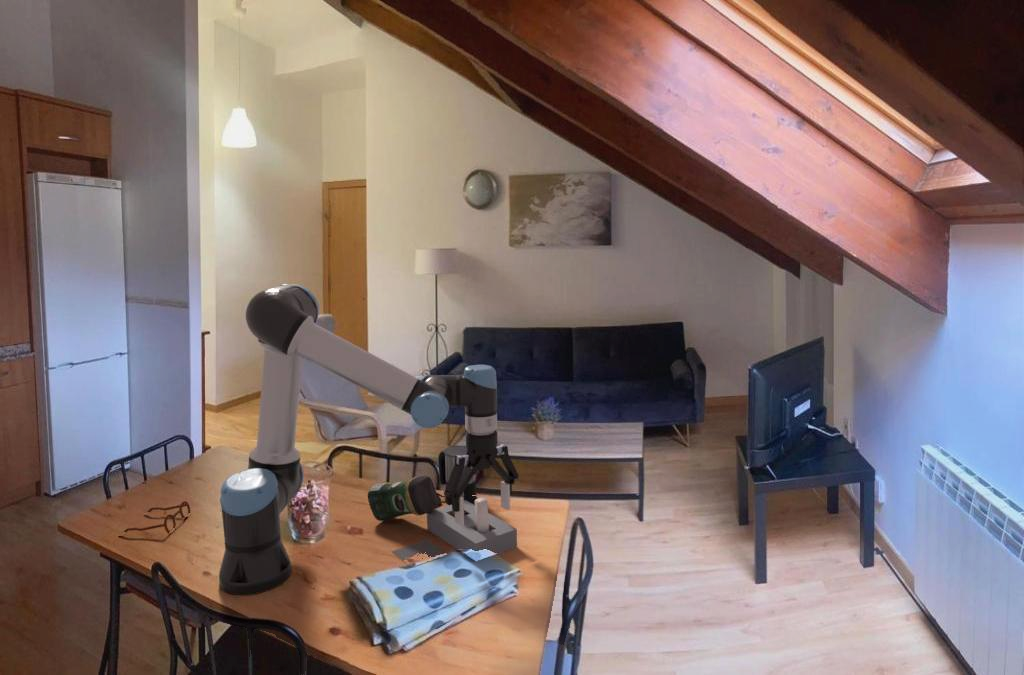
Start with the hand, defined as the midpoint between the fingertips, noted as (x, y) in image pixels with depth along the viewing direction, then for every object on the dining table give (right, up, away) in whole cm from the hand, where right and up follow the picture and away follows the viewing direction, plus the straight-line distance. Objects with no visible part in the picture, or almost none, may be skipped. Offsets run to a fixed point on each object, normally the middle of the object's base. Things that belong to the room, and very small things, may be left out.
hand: (483, 515), depth 164 cm
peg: (0, -8, +1) cm, 8 cm away
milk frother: (-11, -4, +28) cm, 31 cm away
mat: (-15, -9, -2) cm, 17 cm away
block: (-3, -7, +6) cm, 10 cm away
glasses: (-87, -7, +16) cm, 89 cm away
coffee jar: (-29, -1, +18) cm, 34 cm away
